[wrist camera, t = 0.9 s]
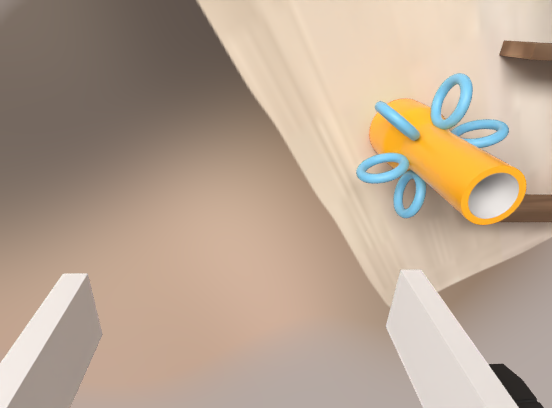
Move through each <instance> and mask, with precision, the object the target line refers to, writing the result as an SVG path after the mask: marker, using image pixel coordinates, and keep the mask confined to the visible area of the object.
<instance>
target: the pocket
mask: <svg viewBox="0 0 552 408" xmlns="http://www.w3.org/2000/svg"><path fill="white" fill-rule="evenodd" d="M500 55H502V56H509V57H516V58H523V59H530V60H548V61H552V43H537V42H519V41H504V42H503V45H502V49H501V52H500ZM499 222H552V195H525V196H524V198H523V200H522V202H521V203H520V205H519V206H518V207H517V209H516V210H515V211H514V212H513V213H512V214H510V215H509V216H508V217H506V218H505V219H503V220H501V221H499Z"/></svg>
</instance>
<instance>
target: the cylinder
mask: <svg viewBox="0 0 552 408" xmlns="http://www.w3.org/2000/svg"><path fill="white" fill-rule="evenodd" d="M456 84H459V86H460V90H461V93H460V99H459V102H458V104H457V107H456V109H455V110H454V112H453V113H452V114H451V116H450V117H448V118H447V119H445V118H444V116H443V115H442V114H441V107H442V103H443V100H444V98H445V96H446V94H447V93H448V91H449V90H450V89H451V88H452V87H453V86H455V85H456ZM472 92H473V88H472V82H471V80H470V78H469V77H468V76H467V75H465V74H461V73H458V74H454V75H452V76H450V77H449V78H447V79H446V80H445V81H444V82H443V83H442V85H441V86H440V87H439V89H438V90H437V92H436V94H435V96H434V99H433V102H432V106H431V107H428V106H426V105H424V104H422V103H420V102H418V101H415V100H413V99H398V100H394V101H392V102H390V103H388V104H386V103H384V102H382V101H379V102H377V103H376V105H375V109H376V111H377V114H376V115H375V117H374V118H373V121H372V123H371V126H370V133H369V137H370V142H371V145H372V147H373V148H374V150H375V151H376V152H377V153H378V154H379V155H375V156H372V157H370V158H368V159H366V160H365V161H363V162H362V163H361V164H360V165H359V166H358V168H357V171H356V174H357V177H358V178H359V179H360V180H361V181H363V182H366V183H374V184H375V183H384V182H388V181H392V180H394V179H396V178H398V177H400V176H401V178H400V179H399V181H398V183H397V185H396V188H395V192H394V208H395V211H396V213H397V214H398V215H399V216H400V217H402V218H410V217H412V216H414V215H415V214H416V213H417V212H418V211H419V210H420V208H421V206H422V204H423V202H424V199H425V194H426V183H427V184H428V185H429V186H430V187H432V188H433V189H434V190H435V191H436V192H437V193H438V194H439V195H441V196H442V197H443V198H444V199H445V200H446V201H447V202H448V203H449V204H451V205H452V206H453V207H454V208H455V209H456V210H457V211H458V212H460V213H461V214H462V215H463V216H464V217H465V218H466V219H467V220H469V221H470V222H472V223H475V224H479V225H488V224H493V223H496V222H499V221H501V220H503V219H505V218H506V217H508V216H509V215H510V214H512V213H513V212H514V211H515V210H516V209H517V207H518V206H519V205H520V203H521V202H522V200H523V198H524V196H525V192H526V180H525V177H524V175H523V174H522V172H521V171H519V170H518V169H516V168H515V167H513V166H511V165H509V164H507V163H506V162H504V161H502V160H500V159H498V158H496V157H495V156H493V155H491V154H489V153H487V152H485V151H484V150H482V149H480V148H483V147H488V146H491V145H494V144H496V143H498V142H500V141H502V140H503V139H504V138H505V137H506V136H507V135H508V133H509V128H508V126H507V125H506V124H505V123H504V122H501V121H498V120H490V119H485V120H476V121H471V122H467V123H464V124H462V125H459V126H457V127H456V128H454V129H453V130H452V131H451V132H450V130H449V129H450V128H452V127H453V126H455V125H456V124H457V123H458V122H459V121H460V120H461V119H462V118H463V116H464V115H465V113H466V111H467V110H468V107H469V105H470V102H471V99H472ZM478 129H492V130H496V131H497V132H495V133H494V134H492V135H489V136H486V137H482V138H476V139H464V138H460V137H459V136H460V135H462V134H464V133H466V132H469V131H472V130H478ZM383 162H387V163H388V164H389V165H390V166H391V167H392V168H394V169H393V170H390V171H388V172H384V173H379V174H370V173H367V172H366V171H367V169H369V168H370V167H372V166H374V165H376V164H379V163H383ZM411 179H414V180H415V183H416V193H415V197H414V200H413V202H412V204H411V205H410V207H409V208H408V209H405V208H404V206H403V201H402V199H403V192H404V189H405V187H406V185H407V183H408V182H409V181H410V180H411Z"/></svg>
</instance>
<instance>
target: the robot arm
mask: <svg viewBox="0 0 552 408" xmlns="http://www.w3.org/2000/svg"><path fill="white" fill-rule="evenodd" d="M386 328H387V330H388V333H389V335H390V337H391V339H392V341H393V343H394V346H395V348H396V350H397V352H398V354H399V357H400V359H401V361H402V363H403V365H404V367H405V370H406V372H407V374H408V376H409V378H410V380H411V383H412V385H413V387H414V389H415V391H416V393H417V395H418V397H419V400H420V402H421V404H422V406H423V408H543V406H542V405H541V404H540V403H538V402H537V399H536V397H535V396H534V394H533V393H532V392H531V391H530V389H529V388H528V387H527V385H526V384H525V383H524V381H523V380H522V379H521V378H519V377H518V376H517V375H516V374H515V373H513V372H512V371H511V370H510V369H509V368H507V367H506V366H505V365H504V364H487V362H486V361H485V359H484V358H483V356H482V355H481V354H480V352H479V351H478V349H477V348H476V346H475V345H474V344H473V342H472V341H471V339H470V338H469V336H468V335H467V334H466V332H465V331H464V329H463V328H462V327H461V325H460V324H459V322H458V321H457V320H456V318H455V317H454V315H453V314H452V312H451V311H450V310H449V308H448V307H447V305H446V304H445V303H444V301H443V300H442V298H441V297H440V295H439V294H438V293H437V291H436V290H435V288H434V287H433V286H432V284H431V283H430V281H429V280H428V278H427V277H426V276H425V274H424V273H423V271H422V270H400V274H399V278H398V282H397V285H396V289H395V293H394V297H393V301H392V305H391V309H390V312H389V316H388V320H387V324H386ZM101 337H102V331H101V327H100V323H99V318H98V314H97V310H96V306H95V302H94V297H93V293H92V289H91V285H90V281H89V277H88V274H63V275H62V276H61V278H60V279H59V280H58V282H57V283H56V285H55V286H54V288H53V289H52V290H51V292H50V293H49V295H48V296H47V297H46V299H45V300H44V302H43V303H42V305H41V306H40V308H39V309H38V310H37V312H36V313H35V315H34V316H33V317H32V319H31V320H30V322H29V323H28V325H27V326H26V327H25V329H24V330H23V332H22V333H21V335H20V336H19V338H18V339H17V340H16V342H15V343H14V345H13V346H12V347H11V349H10V350H9V352H8V353H7V355H6V356H5V357H4V359H3V360H2V362H1V363H0V408H70V407H71V404H72V402H73V400H74V398H75V395H76V393H77V391H78V389H79V386H80V384H81V382H82V380H83V377H84V375H85V372H86V370H87V368H88V366H89V364H90V361H91V359H92V357H93V355H94V352H95V350H96V348H97V346H98V343H99V341H100V339H101Z"/></svg>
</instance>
